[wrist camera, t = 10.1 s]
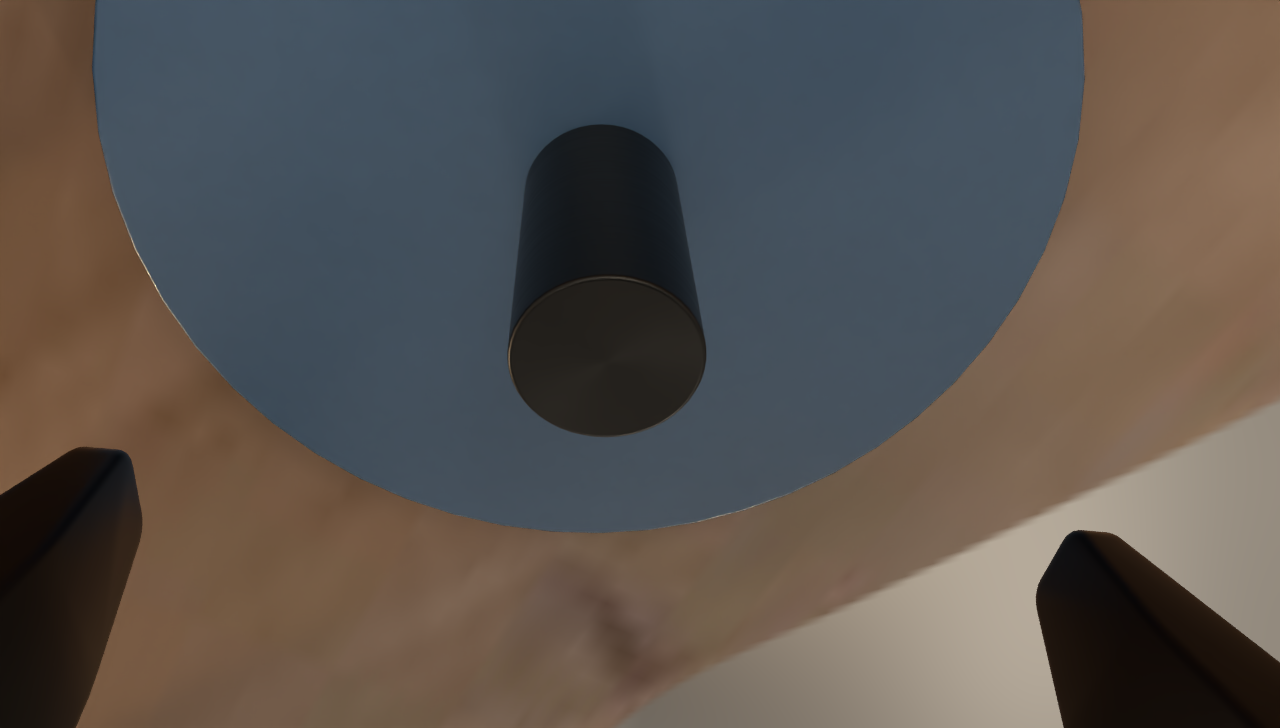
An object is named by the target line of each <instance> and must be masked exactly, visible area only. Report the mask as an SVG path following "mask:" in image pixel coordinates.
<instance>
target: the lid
mask: <svg viewBox="0 0 1280 728" xmlns="http://www.w3.org/2000/svg"><path fill="white" fill-rule="evenodd" d="M92 71H93V81H94V91H95V102H96V112H97V123H98V133H99V137H100V141H101V145H102V150H103V154H104V158H105V162H106V166H107V170H108V175H109V179H110V183H111V187H112V191H113V195H114V197H115V200H116V202H117V205H118V207H119V210H120V213H121V215H122V218H123V220H124V223H125V226H126V228H127V231H128V233H129V236H130V238H131V241H132V244H133V246H134V249H135V251H136V253H137V254H138V256H139V258H140V260H141V262H142V264H143V265H144V267H145V269H146V271H147V273H148V275H149V277H150V278H151V280H152V282H153V284H154V286H155V288H156V289H157V291H158V293H159V295H160V297H161V299H162V300H163V302H164V303H165V305H166V306H167V307H168V309H169V310H170V312H171V313H172V314H173V316H174V317H175V319H176V320H177V321H178V323H179V324H180V326H181V327H182V329H183V330H184V331H185V333H186V334H187V336H188V337H189V338H190V340H191V341H192V343H193V344H194V345H195V347H196V348H197V349H198V350H199V351H200V352H201V353H202V354H203V356H204V357H205V358H206V359H207V360H208V361H209V362H210V363H211V364H212V365H213V367H214V368H215V369H216V370H217V371H218V372H219V373H220V374H221V375H222V377H223V378H224V379H225V380H226V381H227V382H228V383H229V384H230V385H231V386H232V388H234V389H235V390H236V391H237V392H238V393H239V394H240V395H241V396H243V397H244V398H245V399H246V400H247V401H248V402H249V403H251V404H252V405H253V406H254V407H255V408H256V409H257V410H258V411H260V412H261V413H262V414H263V415H264V416H265V417H266V418H268V419H269V420H270V421H271V422H272V423H273V424H275V425H276V426H278V427H279V428H280V429H282V430H283V431H285V432H286V433H287V434H289V435H290V436H292V437H293V438H295V439H296V440H297V441H299V442H300V443H302V444H303V445H304V446H306V447H307V448H309V449H310V450H311V451H313V452H314V453H316V454H317V455H319V456H321V457H323V458H325V459H326V460H328V461H330V462H332V463H333V464H335V465H337V466H339V467H341V468H342V469H344V470H346V471H348V472H349V473H351V474H353V475H355V476H357V477H358V478H360V479H362V480H365V481H367V482H369V483H371V484H374V485H376V486H378V487H381V488H383V489H385V490H387V491H390V492H392V493H394V494H397V495H399V496H401V497H403V498H406V499H408V500H411V501H414V502H417V503H421V504H424V505H427V506H430V507H433V508H436V509H439V510H442V511H445V512H448V513H451V514H454V515H459V516H463V517H468V518H472V519H477V520H481V521H486V522H490V523H495V524H499V525H504V526H512V527H520V528H528V529H536V530H544V531H553V532H585V533H607V532H624V531H640V530H651V529H658V528H664V527H671V526H677V525H684V524H690V523H696V522H700V521H704V520H708V519H712V518H716V517H720V516H724V515H728V514H732V513H736V512H740V511H743V510H746V509H749V508H752V507H755V506H757V505H760V504H763V503H766V502H769V501H771V500H774V499H777V498H780V497H783V496H785V495H788V494H790V493H793V492H795V491H797V490H799V489H801V488H803V487H805V486H807V485H810V484H812V483H814V482H816V481H818V480H820V479H822V478H824V477H827V476H829V475H831V474H833V473H835V472H836V471H838V470H840V469H841V468H843V467H845V466H846V465H848V464H850V463H851V462H853V461H855V460H856V459H858V458H860V457H861V456H863V455H865V454H866V453H868V452H870V451H871V450H873V449H875V448H876V447H878V446H879V445H880V444H882V443H883V442H884V441H886V440H887V439H888V438H890V437H891V436H893V435H894V434H895V433H897V432H898V431H899V430H901V429H902V428H903V427H905V426H906V425H907V424H909V423H910V422H911V421H913V420H914V419H915V418H917V417H918V416H919V415H920V414H921V413H922V412H923V411H924V410H925V409H926V408H927V407H929V406H930V405H931V404H932V403H933V402H934V401H935V400H936V399H937V398H938V397H939V396H940V395H941V394H943V393H944V392H945V391H946V390H947V389H948V388H949V387H950V386H951V385H952V384H953V383H954V382H955V381H956V380H957V379H958V378H959V377H960V376H961V374H962V373H963V372H964V371H965V370H966V369H967V367H968V366H969V365H970V364H971V363H972V362H973V361H974V359H975V358H976V357H977V356H978V355H979V354H980V353H981V351H982V350H983V349H984V348H985V347H986V346H987V344H988V343H989V342H990V340H991V339H992V338H993V336H994V335H995V333H996V332H997V330H998V329H999V327H1000V326H1001V324H1002V323H1003V322H1004V320H1005V319H1006V317H1007V316H1008V314H1009V313H1010V311H1011V310H1012V308H1013V307H1014V306H1015V304H1016V303H1017V301H1018V300H1019V298H1020V296H1021V294H1022V292H1023V291H1024V289H1025V287H1026V285H1027V283H1028V281H1029V279H1030V277H1031V275H1032V273H1033V272H1034V270H1035V268H1036V266H1037V264H1038V262H1039V260H1040V258H1041V256H1042V254H1043V253H1044V251H1045V248H1046V246H1047V243H1048V240H1049V238H1050V235H1051V232H1052V230H1053V227H1054V224H1055V222H1056V219H1057V217H1058V214H1059V211H1060V209H1061V206H1062V203H1063V201H1064V198H1065V194H1066V190H1067V186H1068V182H1069V178H1070V173H1071V169H1072V165H1073V161H1074V157H1075V152H1076V148H1077V144H1078V140H1079V130H1080V120H1081V110H1082V100H1083V90H1084V80H1085V75H1084V49H1083V23H1082V11H1081V5H1080V0H96V2H95V22H94V42H93V61H92Z"/></svg>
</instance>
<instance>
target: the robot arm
mask: <svg viewBox="0 0 1280 728" xmlns="http://www.w3.org/2000/svg"><path fill="white" fill-rule="evenodd" d="M141 533H142V512H141V507H140V502H139V496H138V491H137V486H136V480H135V475H134V470H133V465H132V461H131V459H130V457H129V455H128V454H127V453H126V452H124V451H122V450H117V449H105V448H93V447H78V448H75V449H73V450H71V451H69V452H67V453H66V454H64V455H63V456H61V457H59V458H58V459H56V460H55V461H53V462H52V463H50V464H48V465H47V466H45V467H44V468H42V469H41V470H39V471H37V472H36V473H34V474H33V475H31V476H30V477H28V478H26V479H25V480H23V481H22V482H20V483H19V484H17V485H15V486H14V487H12V488H11V489H9V490H8V491H6V492H4V493H3V494H1V495H0V728H76V725H77V723H78V721H79V719H80V716H81V714H82V712H83V709H84V707H85V705H86V702H87V700H88V698H89V695H90V692H91V689H92V687H93V684H94V681H95V678H96V675H97V672H98V669H99V666H100V663H101V660H102V657H103V654H104V651H105V648H106V645H107V641H108V638H109V635H110V632H111V629H112V626H113V623H114V620H115V617H116V614H117V610H118V607H119V604H120V601H121V598H122V595H123V592H124V589H125V586H126V583H127V579H128V576H129V573H130V570H131V567H132V564H133V561H134V558H135V555H136V552H137V548H138V545H139V542H140V538H141ZM1036 606H1037V612H1038V617H1039V621H1040V625H1041V629H1042V634H1043V639H1044V643H1045V647H1046V652H1047V656H1048V660H1049V665H1050V669H1051V674H1052V678H1053V683H1054V687H1055V691H1056V696H1057V700H1058V705H1059V709H1060V713H1061V718H1062V722H1063V726H1064V728H1280V662H1279V661H1277V660H1276V659H1275V658H1273V657H1272V656H1271V655H1269V654H1268V653H1267V652H1266V651H1264V650H1263V649H1262V648H1261V647H1259V646H1258V645H1257V644H1255V643H1254V642H1253V641H1251V640H1250V639H1249V638H1248V637H1246V636H1245V635H1244V634H1242V633H1241V632H1240V631H1239V630H1237V629H1236V628H1235V627H1233V626H1232V625H1231V624H1230V623H1228V622H1227V621H1226V620H1225V619H1223V618H1222V617H1221V616H1219V615H1218V614H1217V613H1216V612H1214V611H1213V610H1212V609H1211V608H1209V607H1208V606H1206V605H1205V604H1204V603H1203V602H1202V601H1200V600H1199V599H1198V598H1196V597H1195V596H1194V595H1192V594H1191V593H1190V592H1189V591H1187V590H1186V589H1185V588H1184V587H1182V586H1181V585H1180V584H1178V583H1177V582H1176V581H1175V580H1173V579H1172V578H1171V577H1169V576H1168V575H1167V574H1166V573H1164V572H1163V571H1162V570H1160V569H1159V568H1158V567H1156V566H1155V565H1154V564H1153V563H1151V562H1150V561H1149V560H1148V559H1146V558H1145V557H1144V556H1142V555H1141V554H1140V553H1139V552H1137V551H1136V550H1135V549H1133V548H1132V547H1131V546H1130V545H1128V544H1127V543H1126V542H1125V541H1123V540H1122V539H1121V538H1119V537H1118V536H1116V535H1114V534H1111V533H1107V532H1096V531H1084V530H1078V531H1073V532H1071V533H1070V534H1069V535H1067V536H1066V537H1065V539H1064V540H1063V542H1062V544H1061V545H1060V547H1059V549H1058V550H1057V552H1056V554H1055V556H1054V557H1053V559H1052V561H1051V563H1050V565H1049V566H1048V568H1047V570H1046V571H1045V573H1044V575H1043V577H1042V578H1041V580H1040V582H1039V584H1038V588H1037V593H1036Z"/></svg>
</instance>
